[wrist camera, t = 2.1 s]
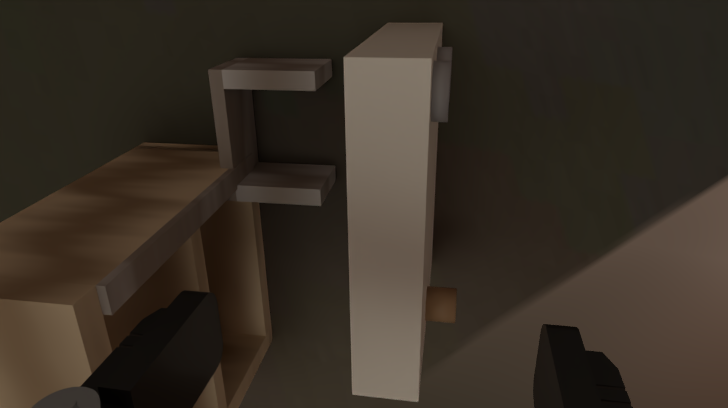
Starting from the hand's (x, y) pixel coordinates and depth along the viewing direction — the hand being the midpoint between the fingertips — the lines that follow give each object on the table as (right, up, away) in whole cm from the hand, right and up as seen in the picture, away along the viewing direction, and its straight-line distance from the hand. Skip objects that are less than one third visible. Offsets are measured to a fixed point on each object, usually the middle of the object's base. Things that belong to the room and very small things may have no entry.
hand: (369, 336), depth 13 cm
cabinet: (-7, +3, +16) cm, 17 cm away
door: (+2, +6, +13) cm, 14 cm away
